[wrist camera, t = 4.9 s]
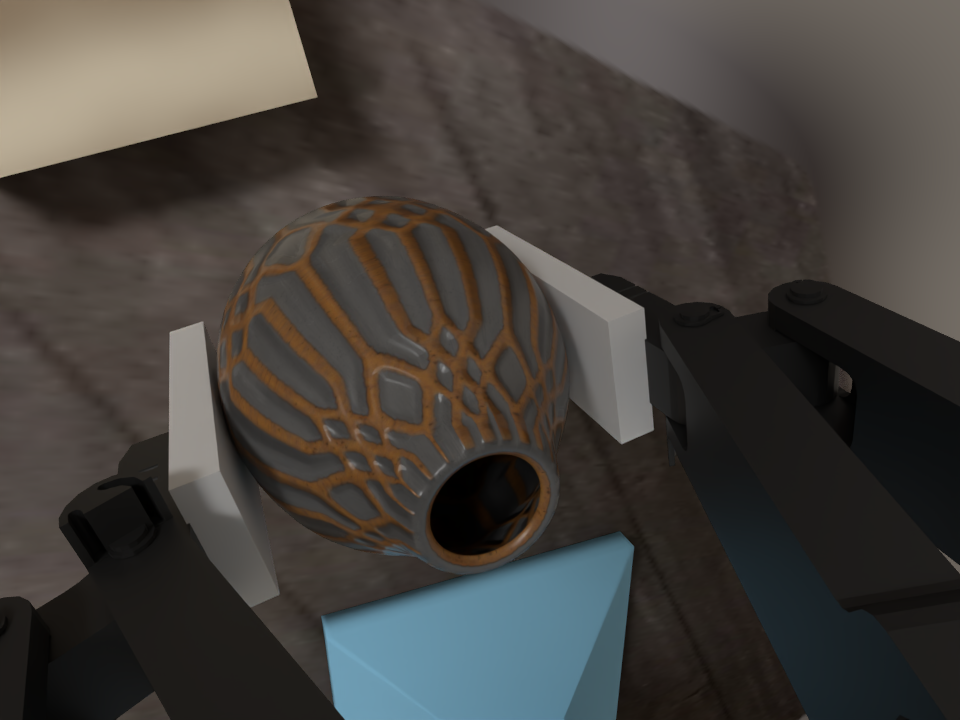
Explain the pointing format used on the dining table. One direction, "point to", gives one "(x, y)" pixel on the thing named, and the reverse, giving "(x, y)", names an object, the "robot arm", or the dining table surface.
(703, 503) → the robot arm
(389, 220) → the vase
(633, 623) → the dining table surface
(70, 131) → the stepped riser
